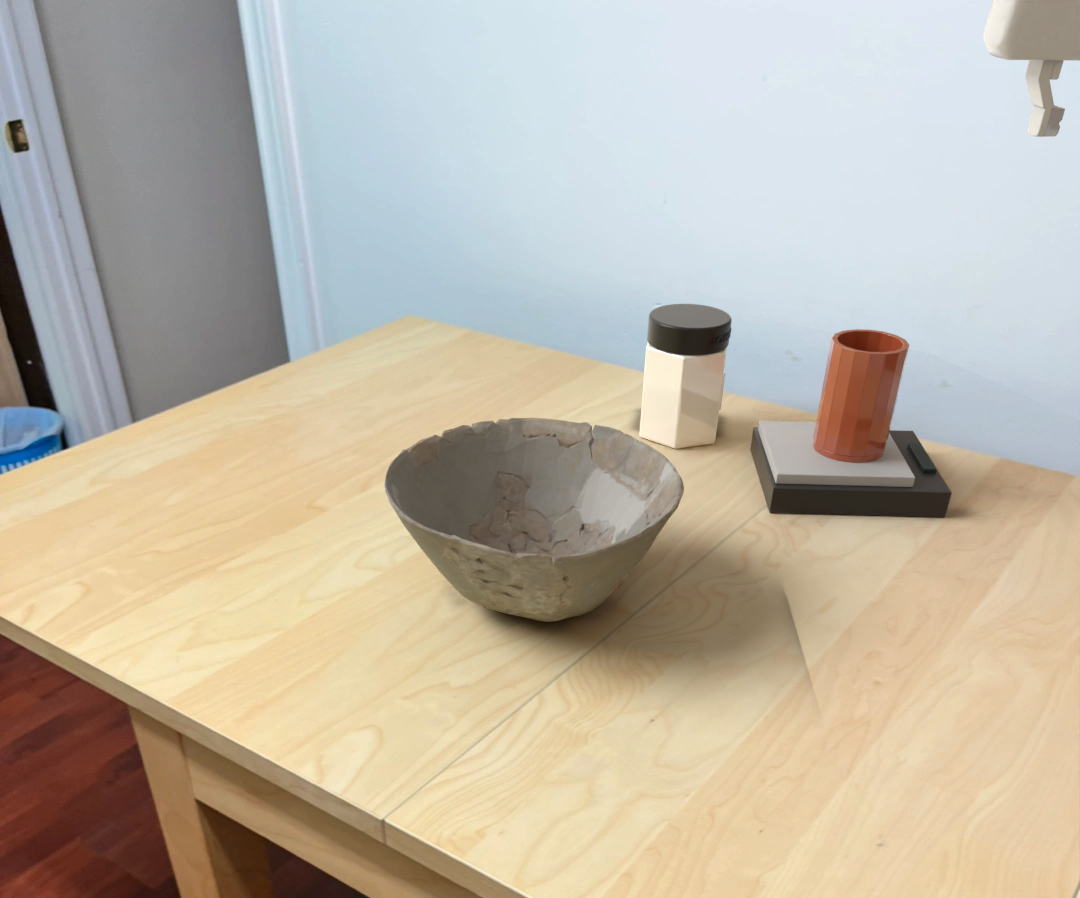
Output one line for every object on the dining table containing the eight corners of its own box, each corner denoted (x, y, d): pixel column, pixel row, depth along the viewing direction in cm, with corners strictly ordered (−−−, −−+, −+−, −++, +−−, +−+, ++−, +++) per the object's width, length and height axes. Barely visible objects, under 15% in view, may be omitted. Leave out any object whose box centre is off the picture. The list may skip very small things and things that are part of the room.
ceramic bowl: (458, 704, 72) (452, 579, 66) (357, 555, 88) (345, 443, 82) (729, 632, 79) (746, 513, 73) (590, 506, 96) (595, 400, 89)
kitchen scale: (907, 454, 106) (915, 421, 104) (945, 517, 95) (955, 482, 93) (750, 450, 106) (754, 417, 104) (769, 513, 95) (775, 477, 93)
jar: (715, 453, 105) (730, 333, 98) (635, 446, 106) (644, 326, 99) (720, 419, 112) (734, 305, 105) (644, 413, 113) (653, 299, 106)
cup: (875, 435, 101) (898, 330, 95) (891, 463, 96) (917, 354, 89) (807, 433, 101) (825, 328, 95) (819, 462, 96) (840, 352, 89)
